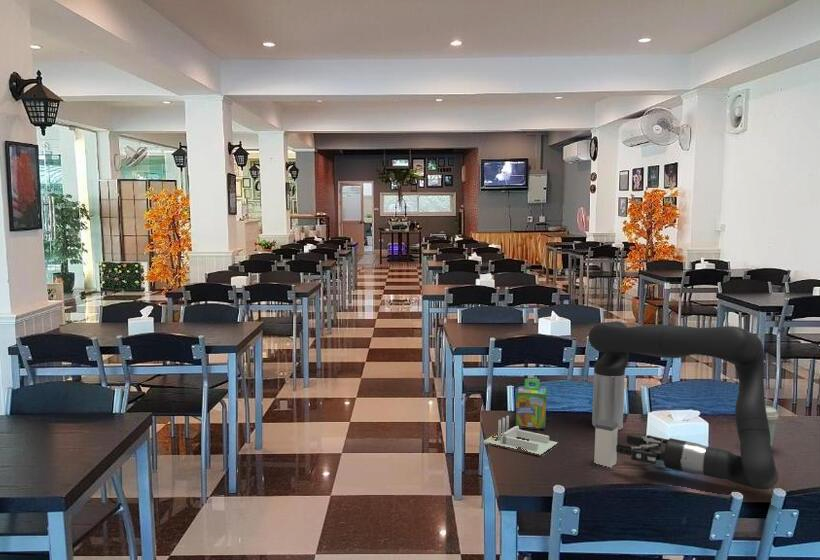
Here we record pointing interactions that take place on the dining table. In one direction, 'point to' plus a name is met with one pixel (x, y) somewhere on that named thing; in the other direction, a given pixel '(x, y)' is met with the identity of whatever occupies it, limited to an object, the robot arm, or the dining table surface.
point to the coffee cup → (771, 420)
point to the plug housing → (606, 443)
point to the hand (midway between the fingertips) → (621, 443)
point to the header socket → (508, 439)
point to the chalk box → (531, 405)
